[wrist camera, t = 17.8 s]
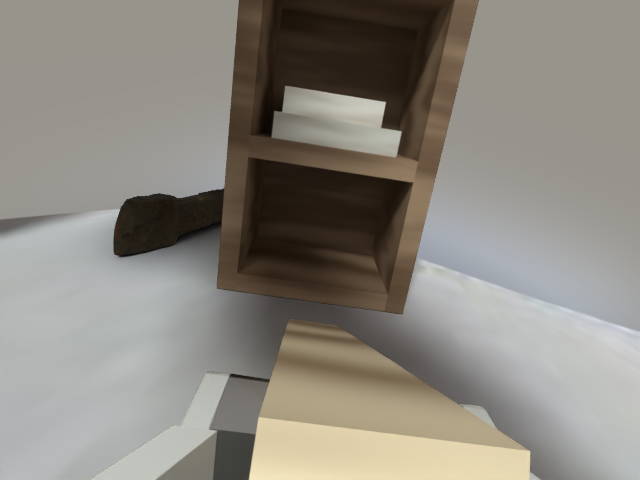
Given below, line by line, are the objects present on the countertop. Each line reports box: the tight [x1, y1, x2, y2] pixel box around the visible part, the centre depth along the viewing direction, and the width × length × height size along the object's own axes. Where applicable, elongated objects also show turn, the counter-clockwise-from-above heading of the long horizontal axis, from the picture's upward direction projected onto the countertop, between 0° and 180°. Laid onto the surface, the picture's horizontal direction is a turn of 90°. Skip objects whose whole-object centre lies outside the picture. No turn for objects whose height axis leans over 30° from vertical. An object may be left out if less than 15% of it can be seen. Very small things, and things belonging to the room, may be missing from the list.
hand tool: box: [114, 189, 224, 255], centre depth 44 cm, size 23×5×6 cm, turn 161°
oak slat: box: [249, 319, 530, 480], centre depth 14 cm, size 20×3×2 cm, turn 0°
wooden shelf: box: [217, 0, 479, 314], centre depth 33 cm, size 12×16×26 cm
